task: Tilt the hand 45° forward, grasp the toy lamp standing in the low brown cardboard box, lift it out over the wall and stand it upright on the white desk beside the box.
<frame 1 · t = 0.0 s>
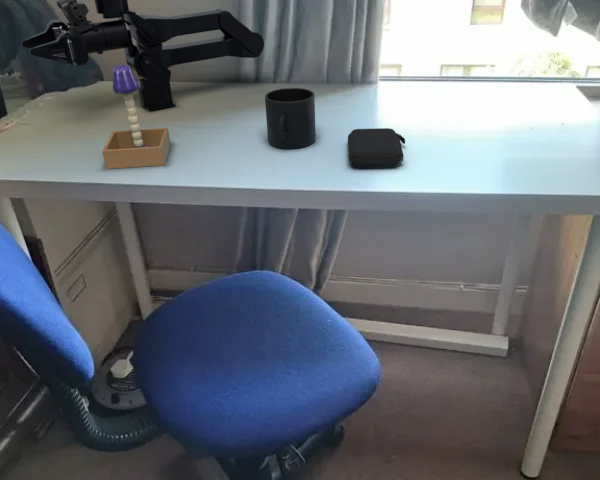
hand: (26, 47, 127), 17 cm above the table, tool horizontal, fingers open, 9 cm apart
carrying case: (376, 156, 116), on the table
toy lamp: (139, 157, 120), resting in box
mug: (290, 144, 122), on the table
box: (139, 156, 120), on the table
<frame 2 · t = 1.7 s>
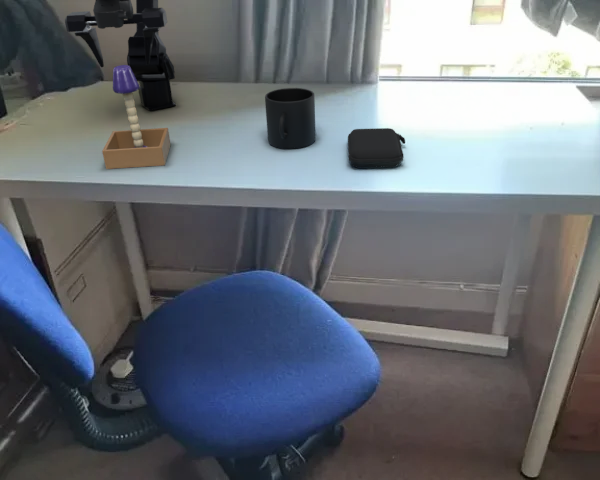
hand: (125, 65, 127), 13 cm above the table, tool pointing down, fingers open, 9 cm apart
nothing on the table moved.
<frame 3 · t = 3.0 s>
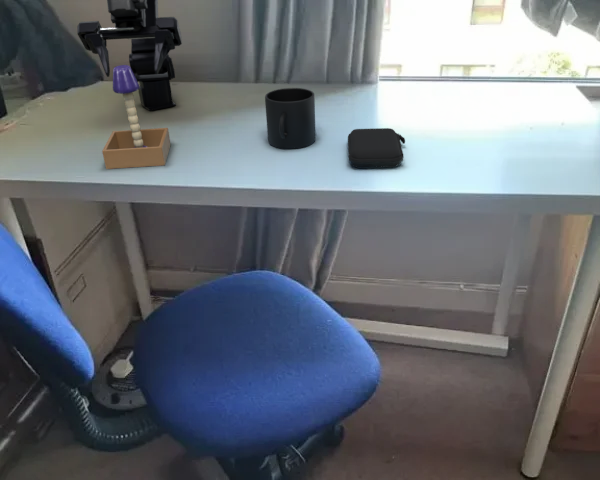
hand: (131, 74, 118), 13 cm above the table, tool tilted 45°, fingers open, 9 cm apart
nothing on the table moved.
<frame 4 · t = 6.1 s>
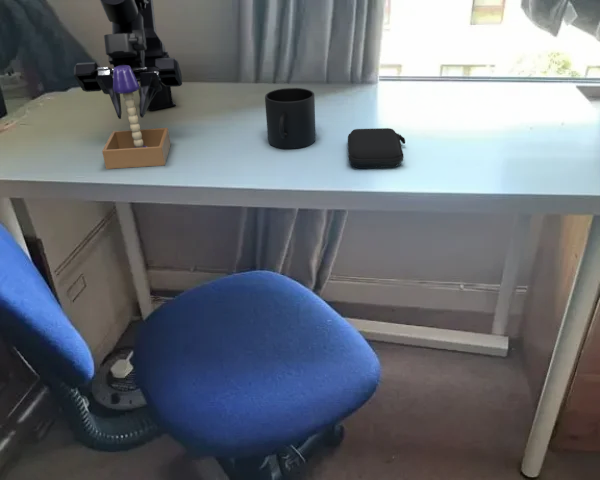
hand: (130, 117, 114), 8 cm above the table, tool tilted 45°, fingers closed on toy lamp, 4 cm apart
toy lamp: (139, 157, 120), resting in box, touching gripper
everything else where it was.
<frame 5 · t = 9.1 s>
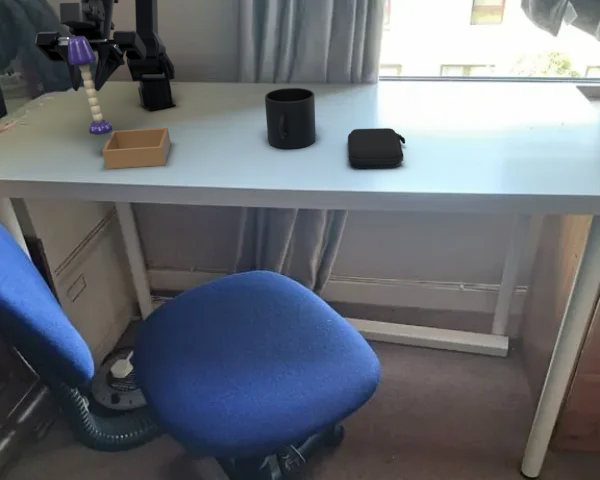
hand: (85, 90, 111), 13 cm above the table, tool tilted 45°, fingers closed on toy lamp, 4 cm apart
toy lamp: (99, 132, 117), point 5 cm above the table, touching gripper
everything else where it was.
when the fingers open (8 cm above the table, at t = 12.1 s): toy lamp stays where it is, on the table.
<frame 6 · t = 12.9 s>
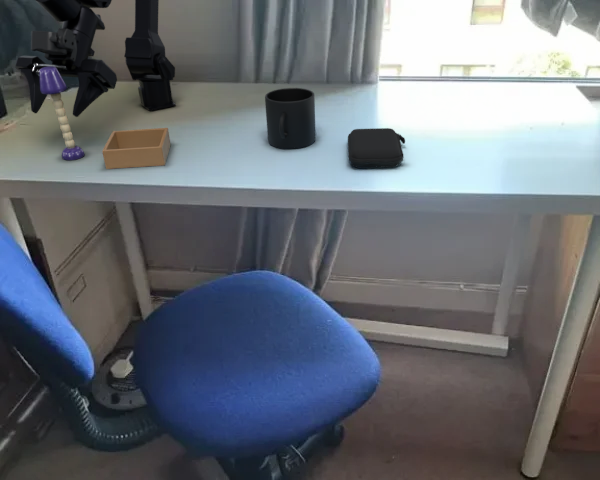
hand: (54, 114, 115), 9 cm above the table, tool tilted 45°, fingers open, 9 cm apart
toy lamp: (71, 157, 121), on the table
everything else where it was.
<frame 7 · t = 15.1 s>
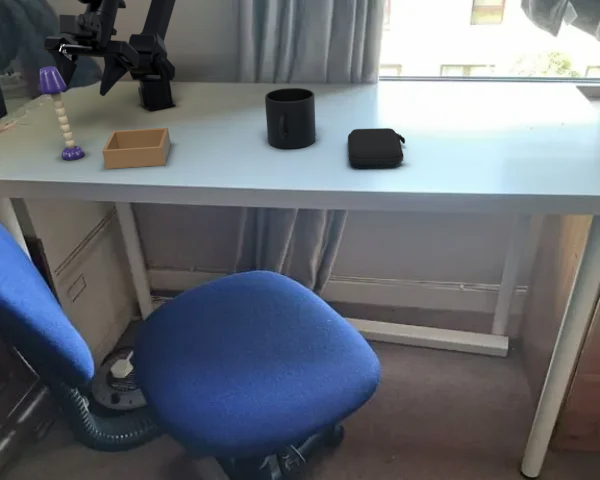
hand: (81, 93, 122), 10 cm above the table, tool tilted 40°, fingers open, 9 cm apart
nothing on the table moved.
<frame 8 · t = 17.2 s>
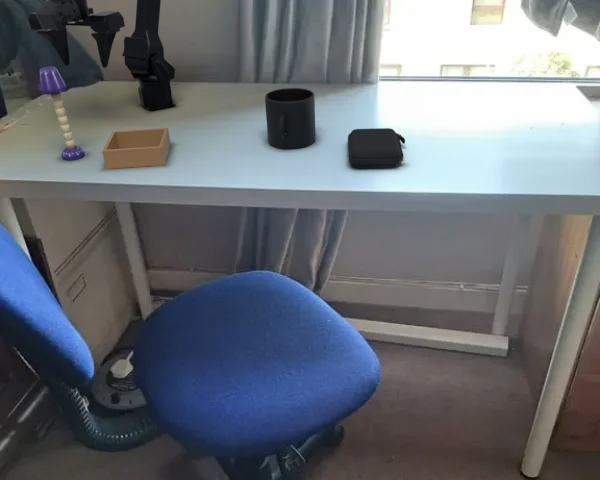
hand: (86, 66, 127), 13 cm above the table, tool pointing down, fingers open, 9 cm apart
nothing on the table moved.
at the end: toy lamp inside the target area (0.4 cm from its centre), on the table; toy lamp tilted 0°; the gripper is holding nothing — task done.
